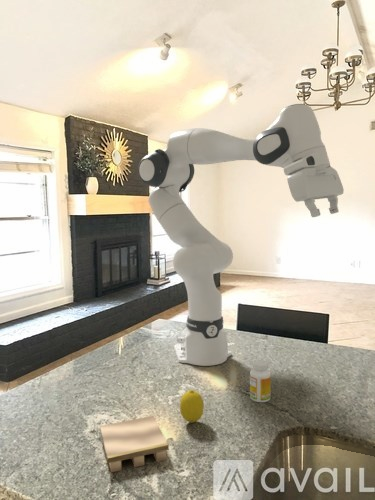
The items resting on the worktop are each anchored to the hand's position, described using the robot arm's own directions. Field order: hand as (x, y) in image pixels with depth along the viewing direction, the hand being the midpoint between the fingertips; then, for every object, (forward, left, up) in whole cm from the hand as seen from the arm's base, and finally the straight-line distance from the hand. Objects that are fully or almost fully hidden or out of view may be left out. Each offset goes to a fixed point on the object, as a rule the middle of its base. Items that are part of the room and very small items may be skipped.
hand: (325, 214), depth 102 cm
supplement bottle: (-3, -17, -48) cm, 51 cm away
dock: (+7, -53, -48) cm, 72 cm away
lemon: (+2, -38, -48) cm, 62 cm away
